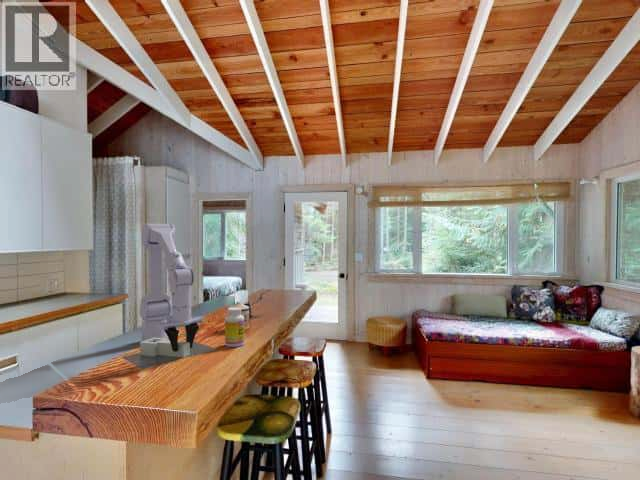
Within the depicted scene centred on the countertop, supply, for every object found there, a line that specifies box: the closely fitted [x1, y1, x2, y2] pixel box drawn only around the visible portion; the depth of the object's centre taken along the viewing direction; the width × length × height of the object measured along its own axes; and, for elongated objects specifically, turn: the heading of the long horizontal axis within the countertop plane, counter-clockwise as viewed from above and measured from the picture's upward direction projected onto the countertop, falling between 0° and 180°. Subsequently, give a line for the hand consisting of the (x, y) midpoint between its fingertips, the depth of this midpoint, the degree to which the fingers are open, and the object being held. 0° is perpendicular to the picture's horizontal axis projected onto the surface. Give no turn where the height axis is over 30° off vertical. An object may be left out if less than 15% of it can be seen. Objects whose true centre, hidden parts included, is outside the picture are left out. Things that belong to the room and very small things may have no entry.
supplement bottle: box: [224, 307, 245, 348], centre depth 126 cm, size 7×7×13 cm
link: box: [139, 338, 190, 359], centre depth 114 cm, size 16×6×4 cm, turn 70°
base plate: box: [121, 341, 218, 369], centre depth 115 cm, size 17×24×1 cm
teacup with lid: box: [227, 300, 250, 331], centre depth 151 cm, size 12×9×12 cm
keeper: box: [180, 330, 187, 342], centre depth 120 cm, size 2×6×6 cm, turn 2°
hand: (182, 349), depth 112 cm, fingers closed on link, 4 cm apart
